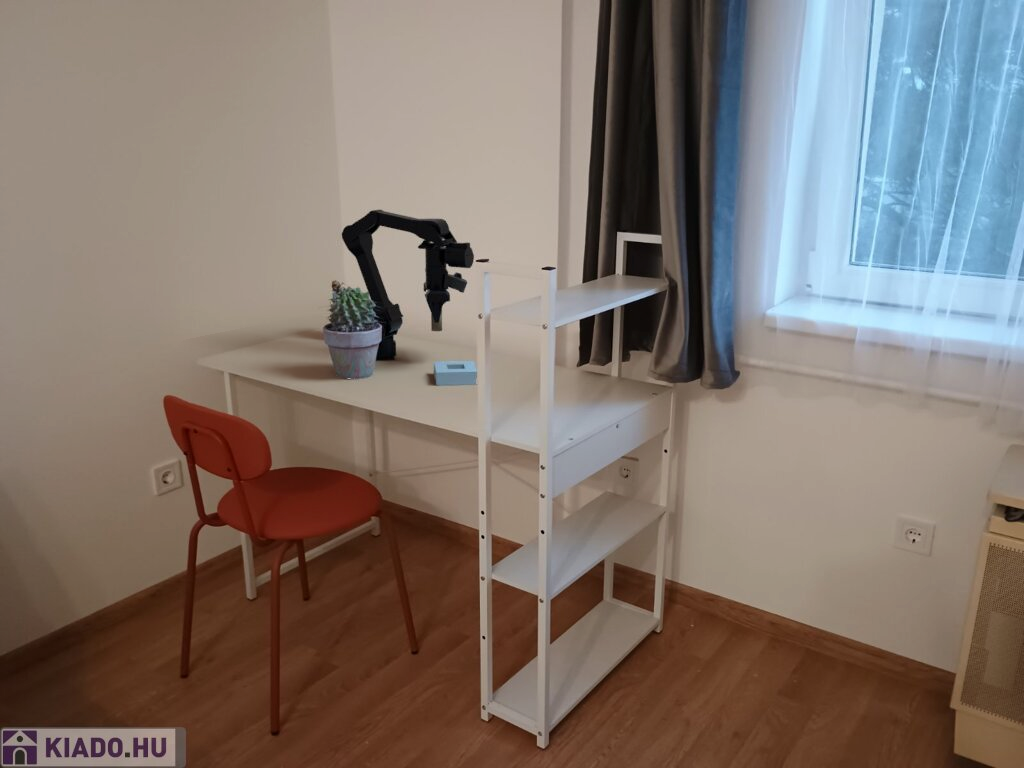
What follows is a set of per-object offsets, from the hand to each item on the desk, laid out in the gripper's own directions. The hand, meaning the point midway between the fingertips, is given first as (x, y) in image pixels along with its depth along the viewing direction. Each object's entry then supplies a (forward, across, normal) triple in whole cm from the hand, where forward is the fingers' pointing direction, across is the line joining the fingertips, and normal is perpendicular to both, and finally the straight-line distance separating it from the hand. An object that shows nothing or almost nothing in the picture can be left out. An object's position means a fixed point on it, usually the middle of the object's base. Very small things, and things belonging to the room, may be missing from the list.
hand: (436, 321), depth 248 cm
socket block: (+12, -16, -4) cm, 21 cm away
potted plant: (+13, -9, +22) cm, 27 cm away
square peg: (+2, 0, 0) cm, 2 cm away
